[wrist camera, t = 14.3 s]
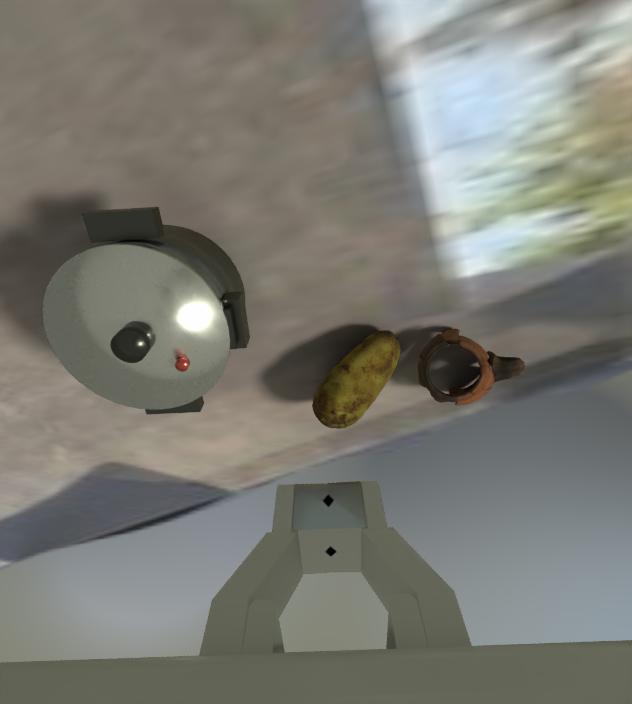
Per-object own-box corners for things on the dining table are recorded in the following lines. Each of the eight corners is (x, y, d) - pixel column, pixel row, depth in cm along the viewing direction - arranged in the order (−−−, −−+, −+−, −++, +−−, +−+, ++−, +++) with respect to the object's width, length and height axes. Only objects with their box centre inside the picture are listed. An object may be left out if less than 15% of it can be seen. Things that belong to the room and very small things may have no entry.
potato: (414, 367, 50) (430, 403, 43) (328, 408, 53) (330, 447, 46) (386, 316, 47) (399, 346, 40) (296, 363, 50) (293, 398, 43)
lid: (18, 248, 32) (-11, 258, 29) (219, 236, 32) (211, 244, 29) (84, 408, 40) (66, 429, 37) (246, 398, 40) (242, 418, 37)
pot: (80, 204, 41) (16, 218, 32) (243, 194, 40) (223, 206, 32) (135, 375, 50) (97, 422, 42) (266, 368, 50) (256, 414, 41)
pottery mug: (429, 401, 53) (422, 416, 46) (415, 334, 53) (406, 338, 45) (525, 388, 49) (536, 403, 41) (511, 316, 49) (519, 316, 41)
